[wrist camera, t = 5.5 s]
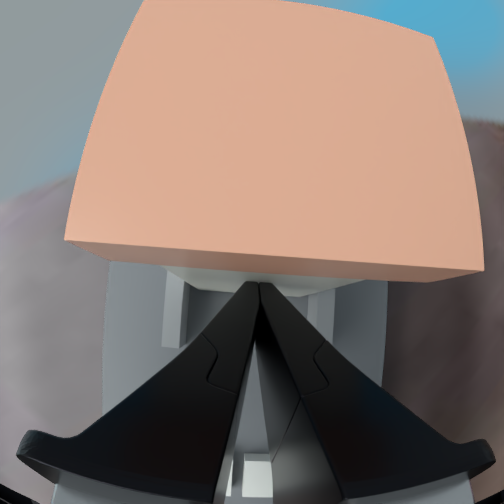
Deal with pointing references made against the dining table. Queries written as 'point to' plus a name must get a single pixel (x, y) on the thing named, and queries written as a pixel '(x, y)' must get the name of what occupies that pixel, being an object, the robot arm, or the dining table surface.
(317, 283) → the key
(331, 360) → the robot arm
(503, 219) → the dining table surface
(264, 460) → the keyboard deck
